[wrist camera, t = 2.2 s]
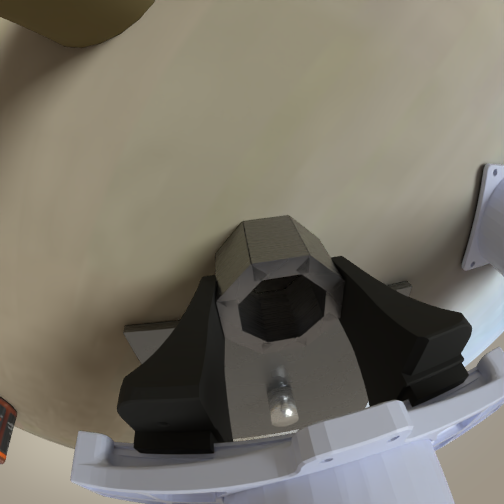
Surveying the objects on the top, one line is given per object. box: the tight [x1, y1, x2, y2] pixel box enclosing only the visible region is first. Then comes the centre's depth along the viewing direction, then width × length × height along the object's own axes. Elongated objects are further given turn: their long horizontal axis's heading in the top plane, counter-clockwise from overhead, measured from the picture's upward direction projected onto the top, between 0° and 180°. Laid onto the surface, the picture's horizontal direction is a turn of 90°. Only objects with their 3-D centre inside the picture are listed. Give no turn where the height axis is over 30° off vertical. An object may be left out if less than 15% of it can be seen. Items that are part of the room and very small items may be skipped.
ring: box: [215, 215, 345, 354], centre depth 13 cm, size 5×5×4 cm
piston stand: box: [123, 281, 412, 439], centre depth 20 cm, size 18×18×3 cm
